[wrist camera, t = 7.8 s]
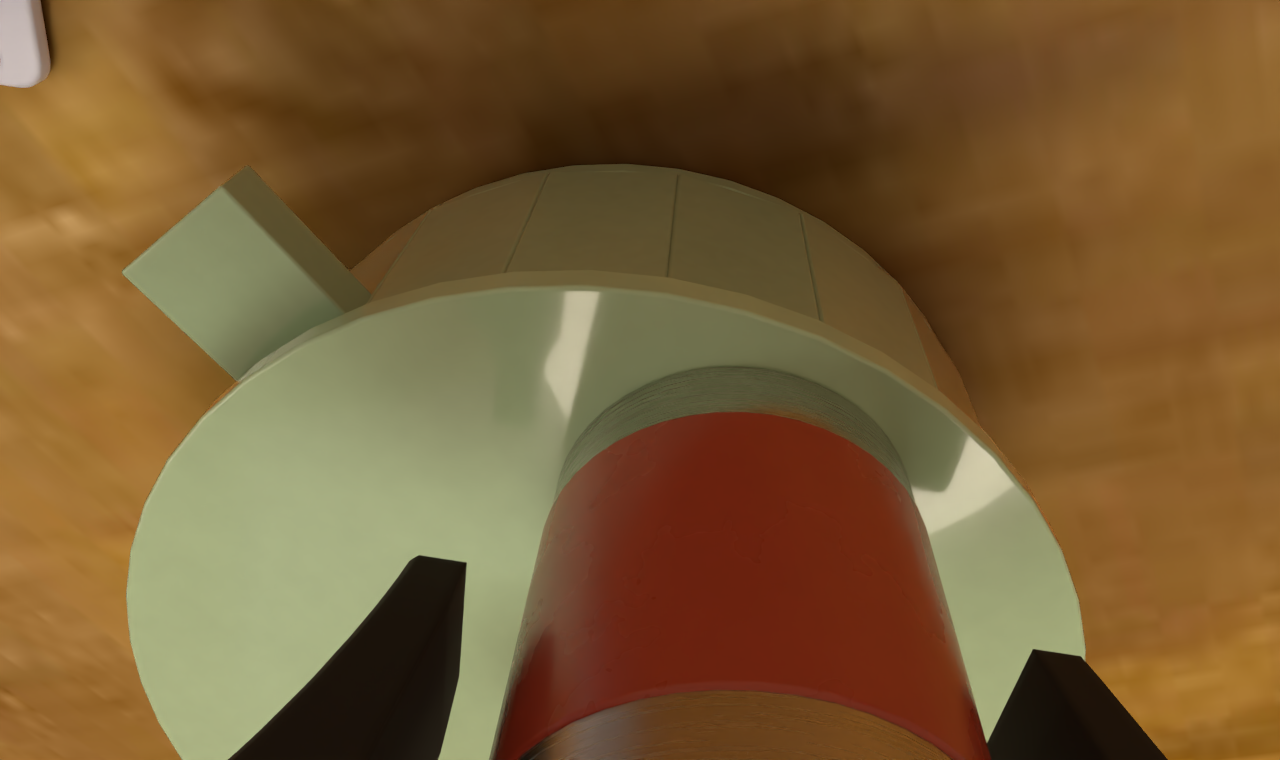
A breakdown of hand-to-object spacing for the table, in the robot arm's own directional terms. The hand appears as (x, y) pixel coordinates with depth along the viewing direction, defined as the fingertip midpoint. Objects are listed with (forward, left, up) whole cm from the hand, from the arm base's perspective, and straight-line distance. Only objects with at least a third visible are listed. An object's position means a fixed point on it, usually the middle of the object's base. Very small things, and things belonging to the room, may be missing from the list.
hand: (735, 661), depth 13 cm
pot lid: (-2, -5, -3) cm, 6 cm away
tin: (0, 0, -3) cm, 3 cm away
